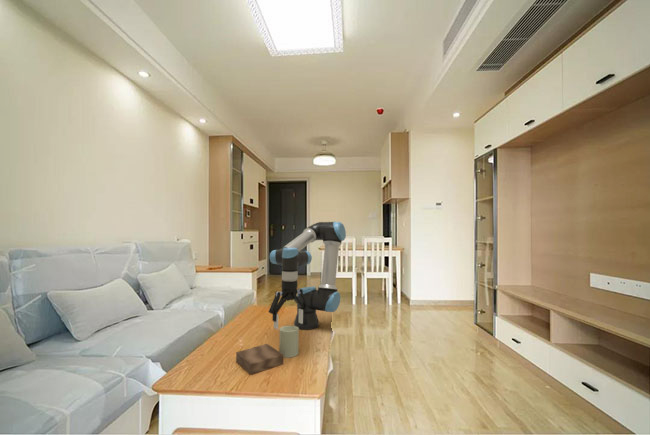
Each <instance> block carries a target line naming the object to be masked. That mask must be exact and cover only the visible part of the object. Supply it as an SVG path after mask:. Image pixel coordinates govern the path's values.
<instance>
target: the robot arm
mask: <svg viewBox="0 0 650 435" xmlns="http://www.w3.org/2000/svg"><path fill="white" fill-rule="evenodd" d="M346 233H347V231H346V228H345V225H344V224H343V223H342V222H341V221H319V222H316V223H313V224H311V225H309V226H307V227H306V228H305V229H303V231H302V233H301V234H299V235H298V236H296V237H295V238H294V239H293V240H291V241H290V242H288V243H287V244H286V245H284V246H283V247H282V248H280V249H274V250H272V251H271V252H269V261H270V263H271V264H273V265H274V264H275V265H277V266H278V265H280V266H281V291H275V294H274V297H273V300H272V302H271V304H270V307H269V310H268V313H270V314H272V322H273V328H274V329H276V330H279V316H280V315H279V314H278V313H279V311H280V310H281V309H282V307H283V305H284V304H285V303H286V302H287V301H289V302H290V301H294V302H295V303H296V307H297V308H296V315H295V318H294V322H293V326H297V327H298V328H299V330H305V331H306V330H313V329H316V328H319V327H320V326H319V325H320V324H319V323H320V321H319V318H318V315H317V311H321V312H326V313H334V312H335V311H337V310H338V308H339V305H340V303H341V294H340V292H338V288H337V286H336V283H337V282H336V280H337V269H338V268H337V267H338V258H339V249H340V246H341V245H342V242H343V241H345V239H346V237H347V236H346V235H347V234H346ZM315 241H322V243H323V245H324V249H323V250H324V251H323V262H322V270H321V271H322V272H321V281H320V282H321V283H320V284H319V286H318V287H316V286H303V287H301V288H298V278H299V276H298V274H299V273H298V272H299V271H298V269H299V268H298V267H301V266H302V267H303V266H304V267H305V266H308V265H309V264H310V263H311V262H312V260H313V259H312V258H313V256H312V254H311V252H310V251H308V250H304V248H305V247H307V246H308V245H309V244H310V243H314V242H315Z"/></svg>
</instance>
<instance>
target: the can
mask: <svg viewBox="0 0 650 435" xmlns="http://www.w3.org/2000/svg"><path fill="white" fill-rule="evenodd" d="M278 330H279V348H278V349H279V350H278V351H279V352H281V353H282V354H283V358H285V359H286V358H288V359H289V358H296V357H297V356H298V355H299V354H300V353H299V332H300V329H299V328H298V327H297V326H294V325H283V326H281V327H279V328H278Z"/></svg>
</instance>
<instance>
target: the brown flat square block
mask: <svg viewBox="0 0 650 435" xmlns="http://www.w3.org/2000/svg"><path fill="white" fill-rule="evenodd" d="M235 362H236V363H237V364H238V365H239V366H240V367H241V368H243V369H244V370H245V371H246V373H248V374H249V375H250V376H251V375H255V374H258V373H261V372H264V371H266V370H269V369H272V368H275V367H279V366H282V365H284V357H283V354H282V353H281V352H279V350H278V349H276V348H275V347H272V346H271V344H268V343H265V344H262V345H257V346H254V347H251V348H247V349H243V350H239V351H236V352H235Z"/></svg>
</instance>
